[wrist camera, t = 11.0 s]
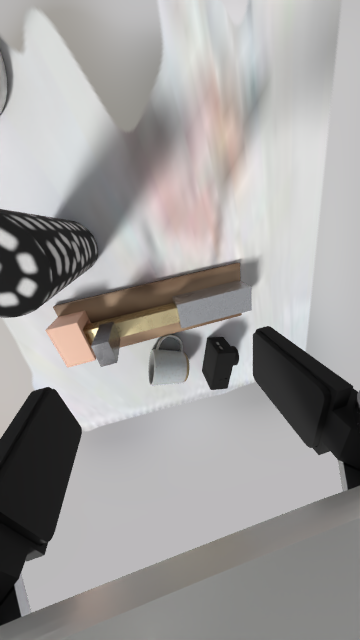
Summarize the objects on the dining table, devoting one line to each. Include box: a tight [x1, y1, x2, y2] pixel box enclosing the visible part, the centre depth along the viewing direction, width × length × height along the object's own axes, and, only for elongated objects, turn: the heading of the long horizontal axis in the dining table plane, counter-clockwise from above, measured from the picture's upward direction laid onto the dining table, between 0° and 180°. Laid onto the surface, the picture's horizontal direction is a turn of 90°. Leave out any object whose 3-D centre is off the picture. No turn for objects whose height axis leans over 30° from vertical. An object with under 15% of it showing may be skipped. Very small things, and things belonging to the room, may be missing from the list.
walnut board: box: [53, 263, 241, 348], centre depth 39 cm, size 12×37×1 cm, turn 101°
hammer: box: [83, 303, 180, 367], centre depth 33 cm, size 4×22×10 cm, turn 101°
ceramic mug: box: [149, 334, 189, 386], centre depth 42 cm, size 11×8×8 cm
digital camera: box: [202, 337, 239, 390], centre depth 45 cm, size 10×5×7 cm, turn 176°
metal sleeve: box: [172, 280, 251, 328], centre depth 38 cm, size 5×15×5 cm, turn 101°
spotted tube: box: [0, 209, 98, 318], centre depth 23 cm, size 8×8×20 cm
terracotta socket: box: [45, 310, 96, 367], centre depth 35 cm, size 8×5×6 cm, turn 11°
